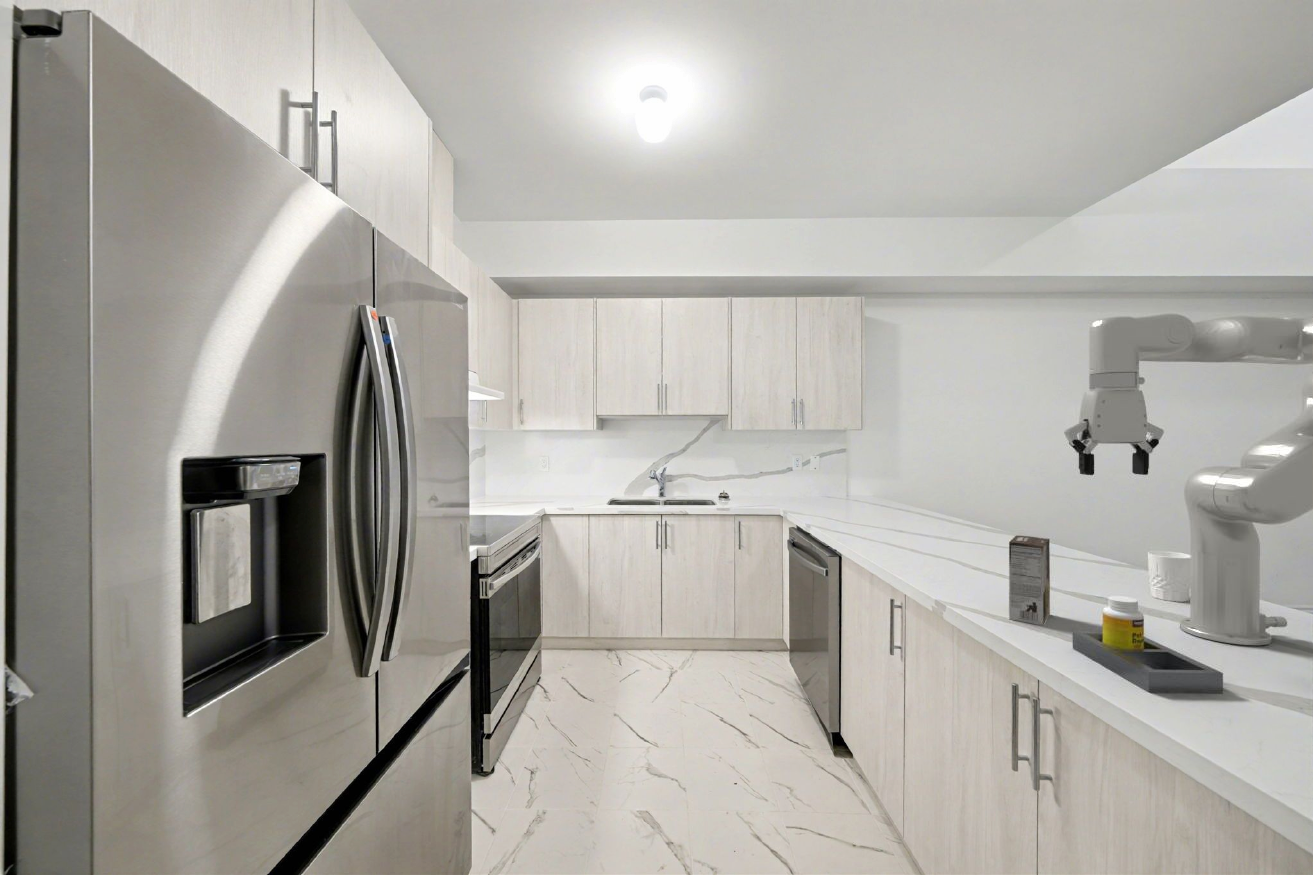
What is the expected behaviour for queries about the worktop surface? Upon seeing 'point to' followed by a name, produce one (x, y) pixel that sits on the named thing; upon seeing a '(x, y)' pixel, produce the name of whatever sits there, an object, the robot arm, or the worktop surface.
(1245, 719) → the worktop surface
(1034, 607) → the coffee box
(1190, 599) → the robot arm
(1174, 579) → the white cup
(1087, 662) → the worktop surface
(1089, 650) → the dark grey divided tray
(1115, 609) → the supplement bottle
